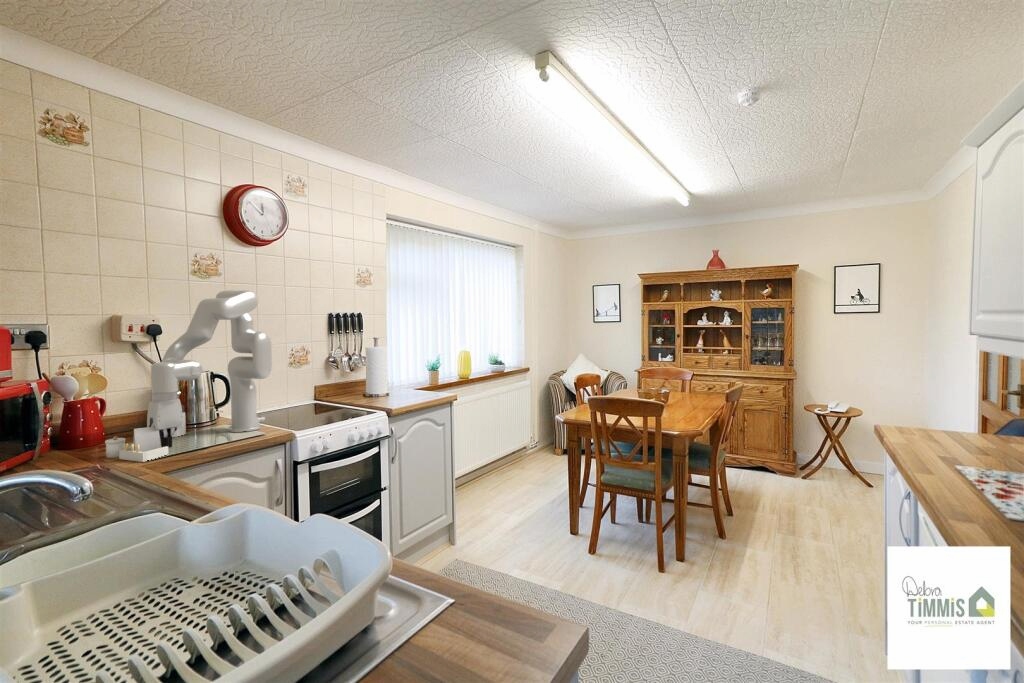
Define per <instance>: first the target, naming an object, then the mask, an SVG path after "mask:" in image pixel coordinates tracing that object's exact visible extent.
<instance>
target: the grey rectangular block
mask: <svg viewBox="0 0 1024 683" xmlns="http://www.w3.org/2000/svg"><path fill="white" fill-rule="evenodd" d="M133 444H134V451H136V445H139V451H140V452H146V451H150V450H154V449H158V448H161V437H160V435H159V430H156V429H155V426H154V427H147V426H146V427H139V428H133Z"/></svg>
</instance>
